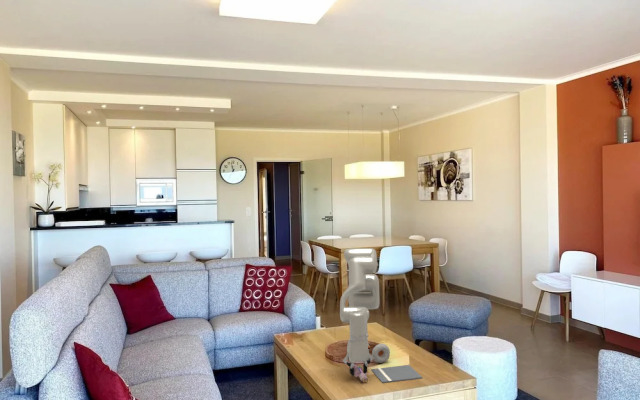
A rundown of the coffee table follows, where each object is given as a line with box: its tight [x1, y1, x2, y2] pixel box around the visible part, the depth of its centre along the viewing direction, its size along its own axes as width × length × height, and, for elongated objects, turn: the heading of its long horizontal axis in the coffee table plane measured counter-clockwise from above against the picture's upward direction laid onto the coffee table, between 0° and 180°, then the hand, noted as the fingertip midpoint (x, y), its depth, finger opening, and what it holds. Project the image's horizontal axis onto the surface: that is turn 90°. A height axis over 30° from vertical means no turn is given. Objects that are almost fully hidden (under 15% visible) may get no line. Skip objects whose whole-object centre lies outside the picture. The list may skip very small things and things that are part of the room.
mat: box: [371, 364, 423, 384], centre depth 233 cm, size 16×20×1 cm
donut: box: [371, 343, 391, 364], centre depth 248 cm, size 10×4×10 cm, turn 108°
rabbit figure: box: [353, 363, 370, 383], centre depth 229 cm, size 6×6×15 cm
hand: (358, 374), depth 229 cm, fingers closed on rabbit figure, 5 cm apart
